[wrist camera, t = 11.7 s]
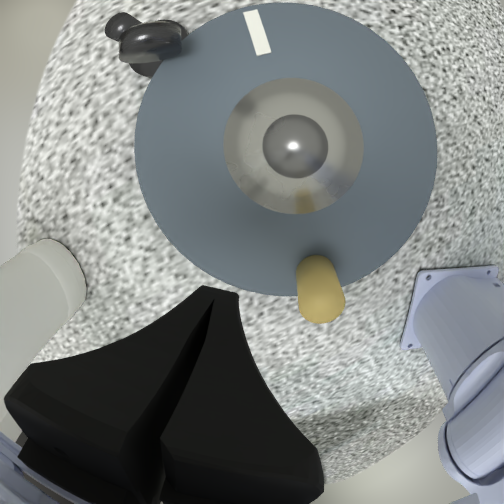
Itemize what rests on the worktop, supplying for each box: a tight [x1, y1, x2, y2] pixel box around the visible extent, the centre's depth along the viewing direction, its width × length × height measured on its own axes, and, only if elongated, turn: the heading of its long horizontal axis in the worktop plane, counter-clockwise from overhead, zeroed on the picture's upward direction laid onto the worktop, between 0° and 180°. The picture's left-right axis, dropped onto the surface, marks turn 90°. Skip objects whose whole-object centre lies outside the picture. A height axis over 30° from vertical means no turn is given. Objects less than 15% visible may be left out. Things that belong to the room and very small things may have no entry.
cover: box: [223, 78, 364, 214], centre depth 13 cm, size 6×6×3 cm
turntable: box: [134, 3, 437, 324], centre depth 14 cm, size 18×18×5 cm
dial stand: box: [105, 12, 189, 78], centre depth 12 cm, size 5×4×7 cm
